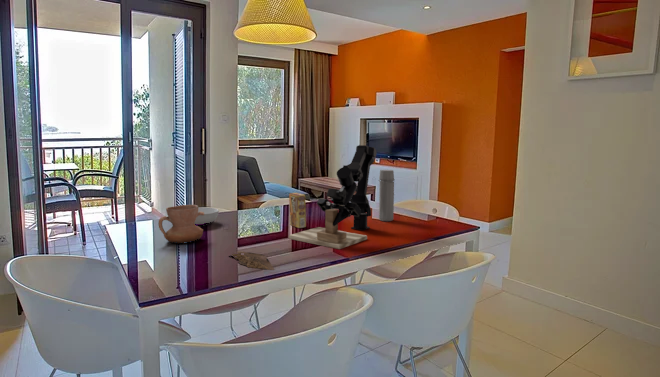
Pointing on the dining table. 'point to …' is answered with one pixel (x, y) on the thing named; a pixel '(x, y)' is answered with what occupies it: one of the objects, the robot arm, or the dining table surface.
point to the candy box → (297, 210)
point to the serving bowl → (206, 215)
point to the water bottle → (386, 195)
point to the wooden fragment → (253, 260)
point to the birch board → (311, 237)
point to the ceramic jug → (182, 224)
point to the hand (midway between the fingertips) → (329, 224)
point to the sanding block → (331, 229)
